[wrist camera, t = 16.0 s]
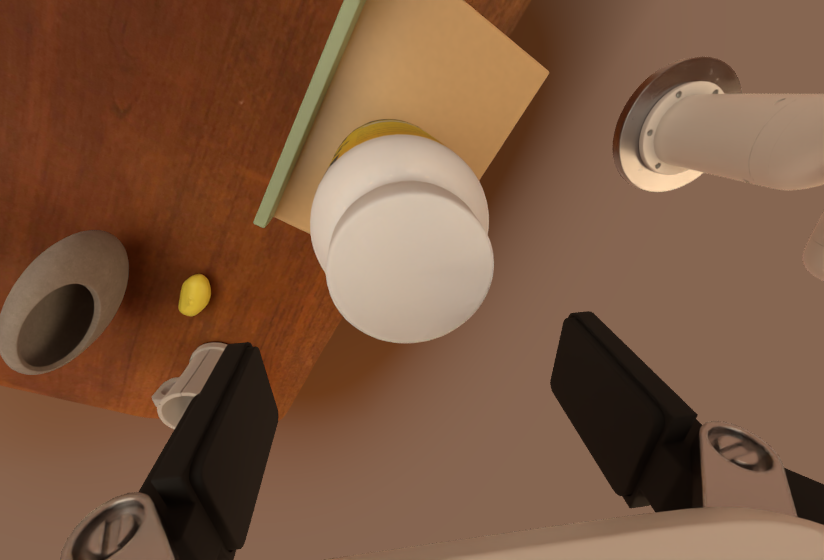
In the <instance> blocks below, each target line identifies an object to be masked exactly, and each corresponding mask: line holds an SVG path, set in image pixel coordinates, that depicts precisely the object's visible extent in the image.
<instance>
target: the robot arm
mask: <svg viewBox="0 0 824 560" xmlns="http://www.w3.org/2000/svg"><path fill="white" fill-rule="evenodd" d="M639 152H640V156H641V159H642V161H643V163H644V164H645V165H646V166H647V168H648V169H650V170H652V171H653V172H656V173H659V174H664V175H675V174H679V173H682V172H685V171H687V170H689V169H691V170H695V171H699V172H704V173H708V174H712V175H717V176H721V177H725V178H729V179H733V180H738V181H742V182H746V183H751V184H755V185H759V186H763V187H768V188H773V189H779V190H799V189H806V188H812V187H816V186H820V185H823V184H824V94H724V92H723V91H722V90H721V88H719V87H718V86H717V85H716V84H713V83H711V82H706V81H694V82H688V83H685V84H682V85H680V86H678V87H676V88H674V89H672V90H671V91H669V92H668V93H667V94H665V95H664V96H663V97H662V98H661V99H660V100H659V101H658V102H657V103H656V105H655V106H654V107H653V108H652V110H651V111H650V113H649V114H648V116H647V118H646V120H645V122H644V124H643V127H642V130H641V133H640V139H639ZM803 263H804V266H805V267H806V269H807V270H808V271H809V272H810V273H811V274H812V275H814V276H815V277H817V278H818V279H820V280H822V281H824V211H823V213H822V215H821V217H820V219H819V221H818V222H817V224H816V226H815V228H814V230H813V232H812V234H811V236H810V238H809V240H808V242H807V244H806V246H805V249H804V252H803ZM550 383H551V389H552V392H553V393H554V395H555V397H556V398H557V400H558V401H559V403H560V405H561V406H562V408H563V410H564V411H565V412H566V414H567V416H568V418H569V419H570V421H571V423H572V424H573V426H574V427H575V429H576V431H577V432H578V434H579V435H580V437H581V439H582V440H583V442H584V443H585V445H586V447H587V448H588V450H589V452H590V453H591V455H592V456H593V458H594V460H595V461H596V463H597V464H598V466H599V468H600V469H601V471H602V472H603V474H604V476H605V477H606V479H607V481H608V482H609V484H610V485H611V487H612V489H613V490H614V491H615V493H616V494H618V495H619V496H623V498H624V499H625V501H626V503H627V504H628V506H629V508H636V507H643V506H649V505H651V506H652V508H653V509H654V511H655V512H656V513H648V514H639V515H631V516H624V517H616V518H609V519H601V520H595V521H587V522H580V523H573V524H565V525H558V526H551V527H544V528H537V529H530V530H523V531H516V532H509V533H502V534H495V535H488V536H481V537H475V538H468V539H461V540H454V541H447V542H440V543H433V544H426V545H420V546H412V547H406V548H399V549H392V550H386V551H379V552H372V553H366V554H359V555H352V556H346V557H339V558H332V559H326V560H824V485H823V484H821V483H819V482H816V481H814V480H812V479H809V478H807V477H805V476H802V475H800V474H797V473H795V472H792V471H790V470H788V469H786V468H784V466H783V463H782V461H781V459H780V457H779V455H778V454H777V453H776V452H775V451H774V450H773V448H772V447H771V446H770V445H769V444H767V443H766V442H765V441H764V440H762V439H761V438H760V437H758V436H757V435H755V434H753V433H751V432H750V431H748V430H746V429H744V428H742V427H739V426H737V425H734V424H730V423H727V422H721V421H711V422H706V423H705V424H703V425H701V424H700V423H699V422H698V421H697V420H696V417H697V414H696V413H695V412H694V411H693V410H692V409H691V408H690V407H689V406H688V405H687V404H686V403H685V402H684V401H683V400H682V399H681V398H680V397H679V396H678V395H677V394H676V393H675V392H674V391H673V390H672V389H671V388H670V387H669V386H668V385H667V384H666V383H665V382H663V381H662V380H661V379H660V378H659V377H658V376H657V375H656V374H655V373H654V372H653V371H652V370H651V369H650V368H649V367H648V366H647V365H646V364H645V363H644V362H643V361H642V360H641V359H640V358H639V357H638V356H637V355H636V354H635V353H634V352H633V351H632V350H631V349H630V348H629V347H627V345H625V344H624V343H623V342H622V341H621V340H620V339H619V338H618V337H617V336H616V335H615V334H614V333H613V332H612V331H611V330H610V329H609V328H608V327H607V326H606V325H605V324H604V323H603V322H602V321H601V320H600V319H599V318H598V317H597V316H596V315H595V314H594V313H592V312H578V313H571V314H570V315H569V317H568V318H566V319H565V320H564V322H563V327H562V331H561V336H560V340H559V345H558V349H557V354H556V358H555V363H554V367H553V372H552V376H551V382H550ZM277 423H278V409H277V406H276V403H275V400H274V396H273V393H272V390H271V387H270V383H269V380H268V377H267V374H266V370H265V367H264V364H263V361H262V357H261V354H260V351H259V348H258V347H253V346H252V344H251V343H249V342H246V343H235V344H228V345H227V346H226V347H225V349H224V351H223V353H222V354H221V356H220V358H219V360H218V362H217V363H216V365H215V367H214V369H213V370H212V372H211V374H210V376H209V378H208V379H207V381H206V383H205V385H204V386H203V388H202V390H201V392H200V394H197V395H196V396H194V398H193V399H192V400H191V402H190V404H189V405H188V407H187V409H186V411H185V412H184V414H183V416H182V418H181V419H180V421H179V423H178V424H177V426H176V428H175V430H174V432H173V433H172V435H171V437H170V439H169V440H168V442H167V444H166V445H165V447H164V449H163V451H162V452H161V454H160V456H159V457H158V459H157V461H156V463H155V465H154V466H153V468H152V470H151V471H150V473H149V475H148V477H147V478H146V480H145V482H144V484H143V485H142V487H141V489H140V491H139V492H136V493H127V494H124V495H120V496H117V497H115V498H113V499H111V500H109V501H107V502H105V503H103V504H102V505H100V506H99V507H98V508H96V509H95V510H94V511H92V512H91V513H89V514H88V515H87V516H86V517H85V518H84V519H83V520H82V521H81V522H80V523H79V524H78V525H77V526H76V528H75V529H74V530H73V532H72V533H71V534H70V536H69V537H68V538H67V541H66V543H65V545H64V547H63V549H62V551H61V558H60V560H233V559H234V556H235V552H236V549H241V548H242V547H243V545H244V542H245V540H246V536H247V532H248V529H249V525H250V522H251V518H252V514H253V511H254V507H255V503H256V500H257V496H258V493H259V489H260V485H261V482H262V478H263V474H264V471H265V467H266V463H267V459H268V456H269V452H270V449H271V445H272V442H273V438H274V434H275V431H276V427H277Z"/></svg>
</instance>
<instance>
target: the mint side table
mask: <svg viewBox="0 0 824 560" xmlns="http://www.w3.org/2000/svg"><path fill="white" fill-rule="evenodd" d="M548 74H549V71H548V70H547V69H545V68H544V67H543V66H542V65H541V64H539V63H538V62H537V61H536V60H535V59H533V58H532V57H531V56H530V55H529V54H527V53H526V52H525V51H524V50H523V49H521V48H520V47H519V46H518V45H517V44H515V43H514V42H513V41H512V40H511V39H509V38H508V37H507V36H506V35H505V34H503V33H502V32H501V31H500V30H499V29H497V28H496V27H495V26H494V25H493V24H491V23H490V22H489V21H488V20H487V19H485V18H484V17H483V16H482V15H481V14H479V13H478V12H477V11H476V10H475V9H473V8H472V7H471V6H470V5H469V4H467V3H466V2H465V1H464V0H344V1H343V4H342V6H341V8H340V11H339V13H338V16H337V18H336V21H335V23H334V26H333V28H332V31H331V33H330V35H329V38H328V40H327V43H326V45H325V48H324V50H323V53H322V55H321V58H320V60H319V62H318V65H317V67H316V70H315V72H314V75H313V77H312V80H311V82H310V85H309V87H308V89H307V92H306V94H305V97H304V99H303V102H302V104H301V107H300V109H299V112H298V114H297V116H296V119H295V121H294V124H293V126H292V129H291V131H290V134H289V136H288V139H287V141H286V144H285V146H284V148H283V151H282V153H281V156H280V158H279V161H278V163H277V166H276V168H275V171H274V173H273V175H272V178H271V180H270V183H269V185H268V188H267V190H266V193H265V195H264V198H263V200H262V202H261V205H260V207H259V210H258V212H257V215H256V217H255V220H254V222H253V223H254V224H255V225H258V226H260V227H262V228H265V227H266V225H267V224H268V223H269V222H270V220H271V219H272V218H273V217H275V218H277V219H280V220H282V221H284V222H286V223H288V224H290V225H292V226H294V227H297V228H299V229H301V230H303V231H305V232H307V233H309V234H311V232H310V216H311V208H312V204H313V200H314V197H315V193H316V190H317V188H318V185H319V183H320V182H321V180H322V178H323V176H324V174H325V173H326V171H327V169H328V167H329V164H330V163H331V161H332V159H333V157H334V155H335V153H336V151H337V149H338V148H339V146H340V145H341V143H342V142H343V141H344V140H345V138H346V137H347V136H348V135H349V134H350V133H352V132H353V131H354V130H355V129H357V128H359V127H360V126H362V125H364V124H366V123H369V122H371V121H376V120H381V119H396V120H402V121H405V122H408V123H411V124H413V125H415V126H418V127H419V128H421V129H422V130H424V131H425V132H427V133H428V134H429V135H431V136H432V137H434V138H435V139H437V140H438V141H439V142H441V143H442V144H444V145H445V146H446V147H448V148H449V149H451V150H452V151H453V152H454V153H456V154H457V155H458V156H459V157H460V158H462V159H463V160H464V161H465V162H466V164H467V165H468V166H469V167H470V168H471V169H472V171H473V172H474V174H475V175H476V177H477V178H478V180H480V178H481V177H482V175H483V174H484V172H485V171H486V169H487V168H488V166H489V165H490V163H491V162H492V160H493V158H494V157H495V155H496V154H497V152H498V151H499V149H500V148H501V146H502V145H503V143H504V142H505V140H506V139H507V137H508V135H509V134H510V132H511V131H512V129H513V128H514V126H515V125H516V123H517V122H518V120H519V118H520V117H521V116H522V114H523V113H524V111H525V109H526V108H527V106H528V105H529V103H530V102H531V100H532V99H533V97H534V96H535V94H536V93H537V91H538V90H539V88H540V86H541V85H542V83H543V82H544V80H545V79H546V77H547V76H548Z"/></svg>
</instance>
